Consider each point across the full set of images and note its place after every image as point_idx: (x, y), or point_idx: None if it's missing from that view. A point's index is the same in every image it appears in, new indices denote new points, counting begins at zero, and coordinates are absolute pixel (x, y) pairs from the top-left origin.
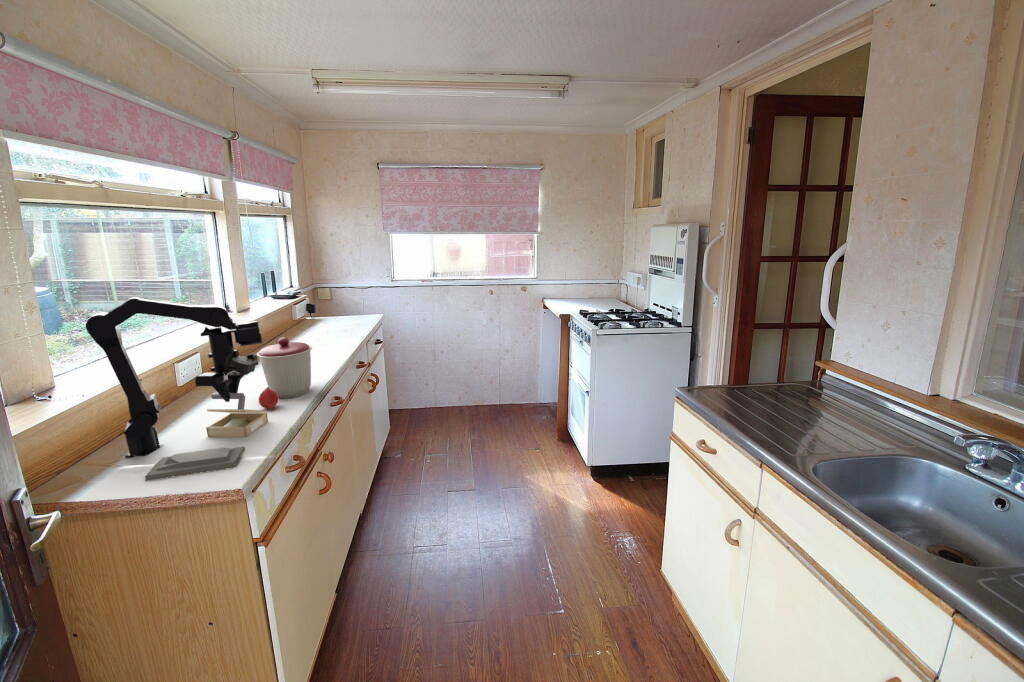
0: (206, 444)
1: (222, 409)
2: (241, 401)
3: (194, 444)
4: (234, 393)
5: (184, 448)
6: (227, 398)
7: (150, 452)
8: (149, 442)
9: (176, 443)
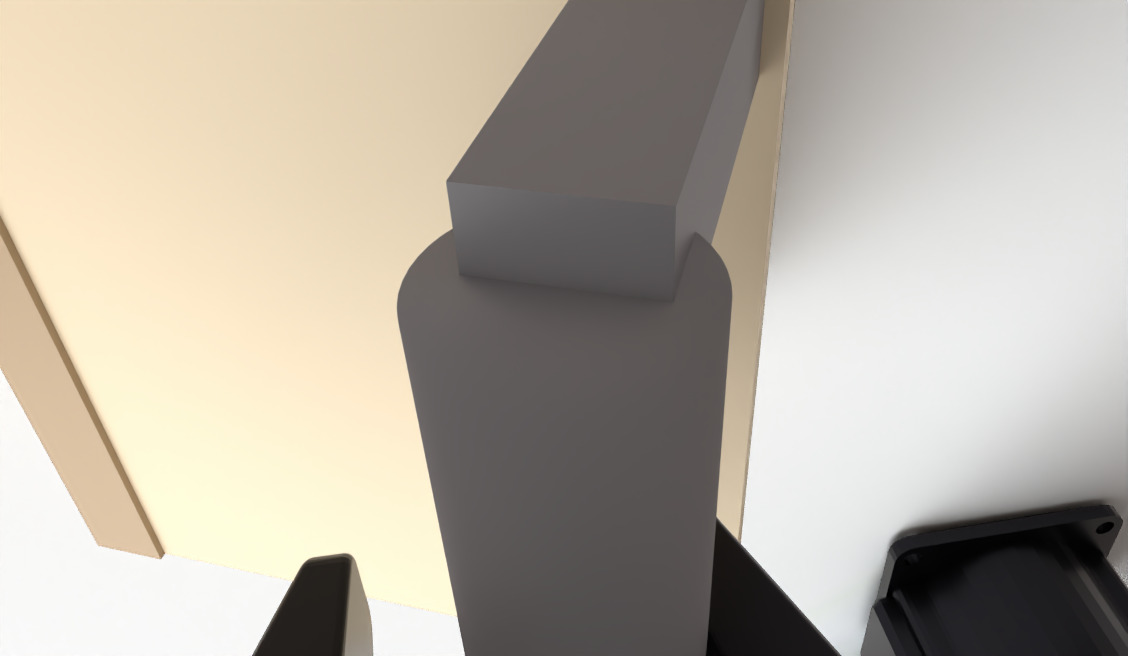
0: (888, 186)
1: (745, 446)
2: (721, 98)
3: (865, 326)
4: (634, 643)
5: (963, 347)
6: (785, 601)
7: (1056, 533)
8: (1090, 624)
9: (812, 506)
